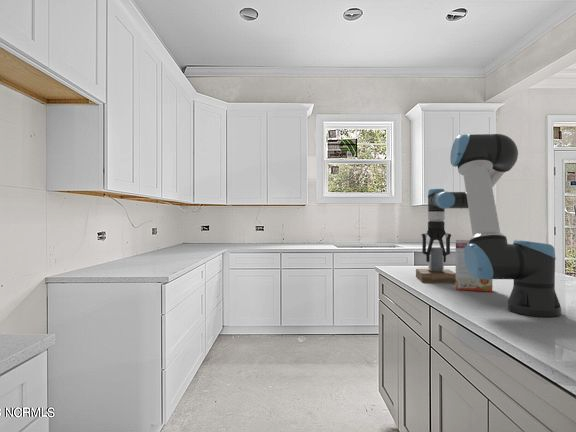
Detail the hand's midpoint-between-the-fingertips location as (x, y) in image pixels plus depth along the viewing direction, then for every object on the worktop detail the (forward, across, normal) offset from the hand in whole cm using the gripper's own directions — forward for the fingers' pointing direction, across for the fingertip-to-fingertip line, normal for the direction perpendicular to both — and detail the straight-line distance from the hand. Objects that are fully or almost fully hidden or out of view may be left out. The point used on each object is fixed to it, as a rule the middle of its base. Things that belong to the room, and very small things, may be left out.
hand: (435, 268), depth 195 cm
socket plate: (+5, 0, 0) cm, 5 cm away
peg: (+2, 0, 0) cm, 2 cm away
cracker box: (+5, -10, +24) cm, 27 cm away
